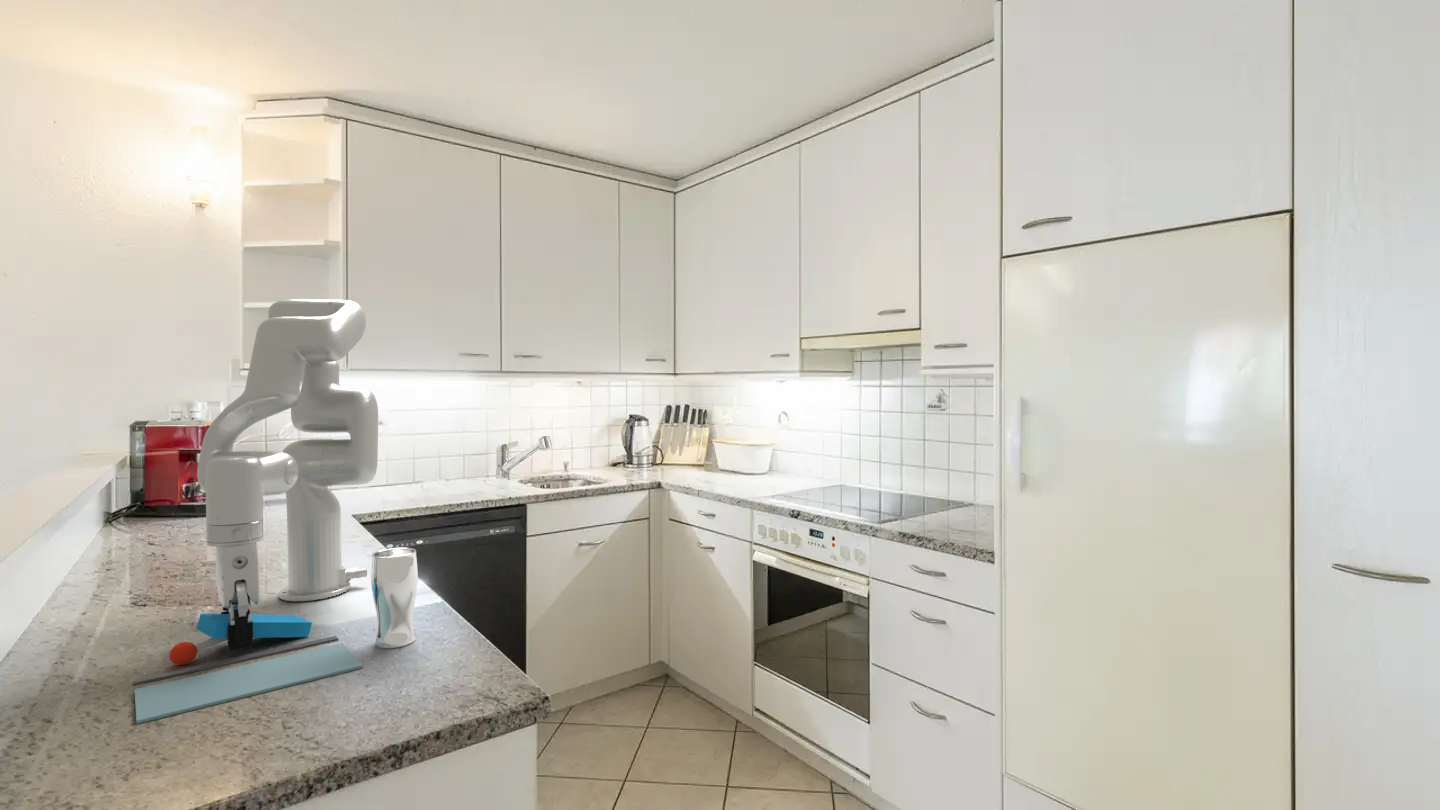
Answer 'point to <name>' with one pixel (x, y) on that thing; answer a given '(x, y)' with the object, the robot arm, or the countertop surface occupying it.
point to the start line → (232, 660)
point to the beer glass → (394, 595)
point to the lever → (219, 632)
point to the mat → (241, 682)
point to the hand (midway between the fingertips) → (236, 640)
